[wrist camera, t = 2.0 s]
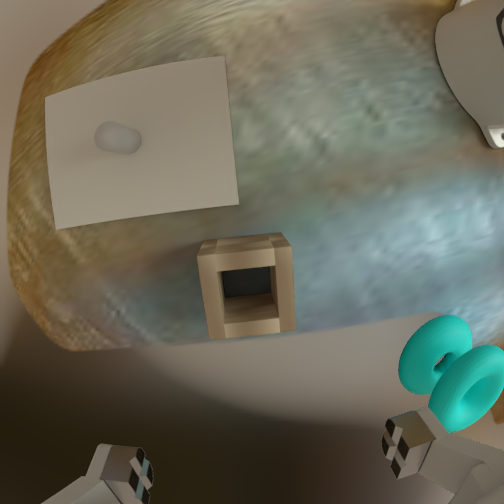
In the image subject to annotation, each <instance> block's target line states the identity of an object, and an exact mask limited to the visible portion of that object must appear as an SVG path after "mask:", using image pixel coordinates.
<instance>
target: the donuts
mask: <svg viewBox="0 0 504 504" xmlns="http://www.w3.org/2000/svg"><path fill="white" fill-rule="evenodd" d="M444 354H445V356H444V358H443V359H442V360H441V361H440V362H439V363H438V364H437V365H436V362H437V361H438V360H439V359H440V358H441V357H442V356H443V355H444ZM398 371H399V378H400V381H401V383H402V384H403V386H404V387H405V388H406V389H407V390H408V391H410V392H412V393H415V394H421V395H425V394H431V396H430V399H429V404H428V407H429V409H430V410H431V411H432V412H433V414H434V415H435V416H436V418H437V419H438V420H439V421H440V423H441V424H442V425H443V427H444V428H445V429H446V431H447V432H448V433H452V432H456V431H460V430H462V429H464V428H467V427H468V426H470V425H472V424H473V423H475V422H476V421H477V420H479V419H480V418H481V417H482V416H483V415H484V414H485V413H486V412H487V411H488V410H489V409H490V408H491V407H492V405H493V404H494V403H495V402H496V400H497V399H498V397H499V395H500V394H501V392H502V390H503V388H504V351H503V350H502V349H501V348H499V347H497V346H494V345H482V346H478V347H475V348H473V349H472V334H471V331H470V328H469V326H468V325H467V323H466V322H465V321H464V320H462V319H461V318H459V317H457V316H453V315H445V316H440V317H437V318H434V319H432V320H430V321H428V322H427V323H425V324H424V325H423V326H421V327H420V328H419V329H418V330H417V331H416V332H415V333H414V334H413V336H412V337H411V338H410V339H409V341H408V342H407V344H406V346H405V347H404V349H403V352H402V354H401V357H400V361H399V369H398Z"/></svg>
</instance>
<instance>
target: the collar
mask: <svg viewBox="0 0 504 504" xmlns="http://www.w3.org/2000/svg"><path fill="white" fill-rule="evenodd" d="M197 262H198V269H199V276H200V283H201V289H202V295H203V302H204V308H205V314H206V320H207V326H208V331H209V337H210V340H212V339H224V338H234V337H244V336H254V335H262V334H271V333H279V332H287V331H294V330H296V316H295V295H294V276H293V259H292V246H291V245H290V244H289V242H288V241H287V240H286V238H285V237H284V236H283V235H282V233H271V234H261V235H251V236H242V237H232V238H223V239H214V240H205V241H203V243H202V245H201V247H200V250H199V252H198V254H197ZM265 266H269V271H270V283H271V293H265V294H256V295H247V296H237V297H228V298H225V292H224V284H223V277H222V271H227V270H237V269H246V268H256V267H265Z"/></svg>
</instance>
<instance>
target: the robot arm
mask: <svg viewBox="0 0 504 504" xmlns="http://www.w3.org/2000/svg"><path fill="white" fill-rule="evenodd" d="M435 43H436V51H437V55H438V59H439V63H440V66H441V68H442V71H443V74H444V76H445V78H446V80H447V82H448V84H449V86H450V88H451V90H452V92H453V93H454V95H455V96H456V98H457V99H458V101H459V102H460V104H461V105H462V106H463V107H464V109H465V110H466V111H467V112H468V113H469V114H470V115H471V116H472V117H473V118H474V119H475V121H476V122H477V123H478V124H479V126H480V128H481V130H482V132H483V134H484V136H485V138H486V140H487V142H488V144H489V145H490V146H491V147H492V148H494V149H497V148H503V147H504V0H473V1H471V0H457V2H456V4H455V7H454V10H453V11H451V12H449V13H447V14H445V15H444V16H443V17H442V18H441V19H440V20H439V22H438V24H437V27H436V33H435ZM385 427H386V429H387V431H386V432H385V433H384V434H383V435H382V440H381V442H382V450H383V453H384V455H385V457H386V458H387V459H389V460H392V463H391V469H392V471H393V473H394V475H395V476H396V479H400V478H403V477H406V476H409V475H412V474H415V473H417V472H419V474H421V475H422V476H424V477H426V478H427V479H429V480H431V481H433V482H434V483H436V484H438V485H440V486H441V487H443V488H445V489H447V490H448V491H450V492H452V493H454V494H455V495H454V497H453V498H452V499H451V501H450V502H449V503H448V504H504V451H503V450H501V449H498V448H495V447H492V446H489V445H486V444H483V443H480V442H477V441H474V440H472V439H469V438H466V437H463V436H461V435H458V434H455V433H450V434H449V433H448V432H447V431H446V429H445V428H444V427H443V425H442V424H441V423H440V421H439V420H438V419H437V418H436V416H435V415H434V414H433V412H432V411H431V410H430V409H429V407H426V406H425V407H422V408H419V409H416V410H414V411H410V412H407V413H404V414H401V415H398V416H395V417H391V418H388V420H387V421H386V424H385ZM144 457H145V453H144V451H143V449H142V448H134V447H125V446H116V445H107V444H100V445H99V446H98V447H97V449H96V452H95V454H94V457H93V459H92V462H91V464H90V467H89V469H88V472H87V474H86V477H83V476H82V477H80V478H79V479H77V480H76V481H75V482H73V483H72V484H70V485H69V486H67V487H66V488H65V489H63V490H61V491H60V492H58V493H57V494H55V495H54V496H52V497H51V498H49V499H48V500H46V501H45V502H43V503H42V504H149V499H150V494H149V493H148V491H147V489H149V487H151V486H152V483H153V470H152V466H151V464H150V462H149V461H147V460H146V459H144Z"/></svg>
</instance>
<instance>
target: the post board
mask: <svg viewBox="0 0 504 504" xmlns="http://www.w3.org/2000/svg"><path fill="white" fill-rule="evenodd" d="M45 127H46V149H47V163H48V174H49V184H50V192H51V200H52V207H53V214H54V220H55V226H56V230H58V229H63V228H69V227H75V226H81V225H87V224H93V223H99V222H106V221H112V220H119V219H126V218H132V217H139V216H147V215H154V214H161V213H169V212H177V211H185V210H193V209H201V208H210V207H219V206H228V205H238V204H239V199H238V189H237V179H236V169H235V159H234V149H233V138H232V128H231V117H230V107H229V96H228V85H227V75H226V64H225V56H216V57H207V58H199V59H192V60H185V61H179V62H173V63H167V64H162V65H156V66H151V67H147V68H142V69H137V70H133V71H129V72H125V73H121V74H117V75H113V76H109V77H105V78H102V79H98V80H95V81H91V82H88V83H85V84H82V85H79V86H75V87H72V88H69V89H66V90H64V91H61V92H58V93H55V94H52V95H50V96H47V97H45Z"/></svg>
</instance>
